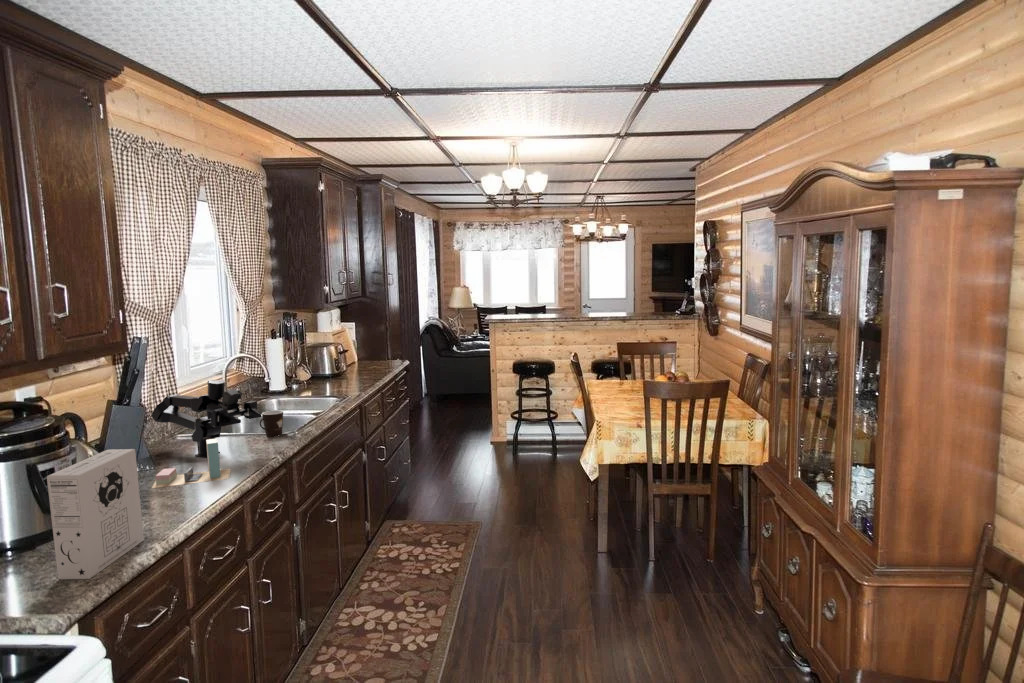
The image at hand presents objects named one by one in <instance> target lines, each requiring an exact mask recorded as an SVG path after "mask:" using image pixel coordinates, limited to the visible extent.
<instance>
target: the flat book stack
mask: <svg viewBox="0 0 1024 683" xmlns="http://www.w3.org/2000/svg"><path fill="white" fill-rule="evenodd" d="M177 475H178V472H177V467H171V468H170V467H169V468H162V470H160V471H159V472H158V473H156V475H155V481H156V485H161V484H170V483H171V482H172V481H173V480H174V479H175V478H176V477H177Z"/></svg>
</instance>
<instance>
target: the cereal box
mask: <svg viewBox="0 0 1024 683" xmlns="http://www.w3.org/2000/svg"><path fill="white" fill-rule="evenodd" d="M136 456H137V454H136V449H134V448H128V449H127V448H125V449H123V448H120V449H117V448H116V449H114V448H112V449H106V450H103V451H101V452H99V453H97V454H95V455H92V456H90V457H88V458H85V459H83V460H81V461H79V462H77V463H74V464H72V465H68V466H67V467H65V468H62V469H60V470H58V471H55V472H53V473H51V474H49V475H47V476H46V482H47V492H48V500H49V507H50V508H49V509H50V518H51V519H50V520H51V525H52V534H53V535H52V536H53V543H54V551H55V560H56V561H55V563H56V570H57V579H58V580H90V579H92V578H93V577H94V576H96V575H98V573H100V572H101V571H103V570H104V569H106V567H108V566H109V565H112V564H113V563H114V562H115V561H117V560H118V559H120V558H121V557H123V556H124V555H125V554H127V553H128V552H130V551H131V550H132V549H134V548H136V546H138V545H140V544H141V543H142V542H143V541H145V540H144V539H145V538H144V527H143V516H142V507H141V506H142V505H141V497H140V496H141V495H140V484H139V476H138V465H137V464H138V463H137V457H136Z"/></svg>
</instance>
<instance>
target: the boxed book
mask: <svg viewBox="0 0 1024 683" xmlns="http://www.w3.org/2000/svg"><path fill="white" fill-rule="evenodd" d="M206 444H207V457H206V458H207V465H208V466H207V467H208V471H209V476H210V479H212V478H218V477H221V475H220V470H221V466H220V462H221V461H220V453H219V452H220V451H219V442H218V439H217V438H215V439H208V440H206Z"/></svg>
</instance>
